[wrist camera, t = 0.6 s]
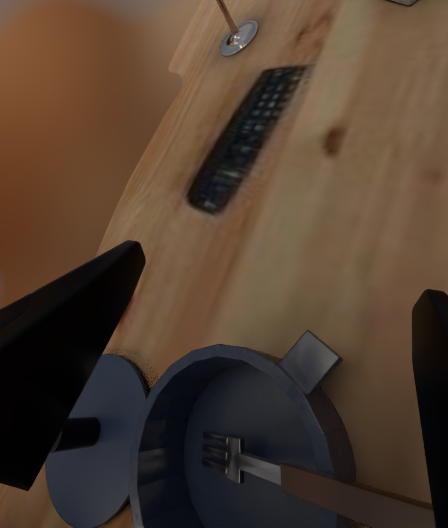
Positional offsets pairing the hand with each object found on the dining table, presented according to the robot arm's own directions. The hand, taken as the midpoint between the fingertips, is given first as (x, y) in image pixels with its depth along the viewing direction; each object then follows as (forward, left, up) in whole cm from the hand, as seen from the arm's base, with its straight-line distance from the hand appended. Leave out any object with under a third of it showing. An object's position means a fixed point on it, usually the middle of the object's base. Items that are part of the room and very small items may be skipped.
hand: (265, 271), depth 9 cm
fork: (-8, +4, -10) cm, 13 cm away
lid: (-8, +24, -14) cm, 29 cm away
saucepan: (-8, +7, -14) cm, 18 cm away
